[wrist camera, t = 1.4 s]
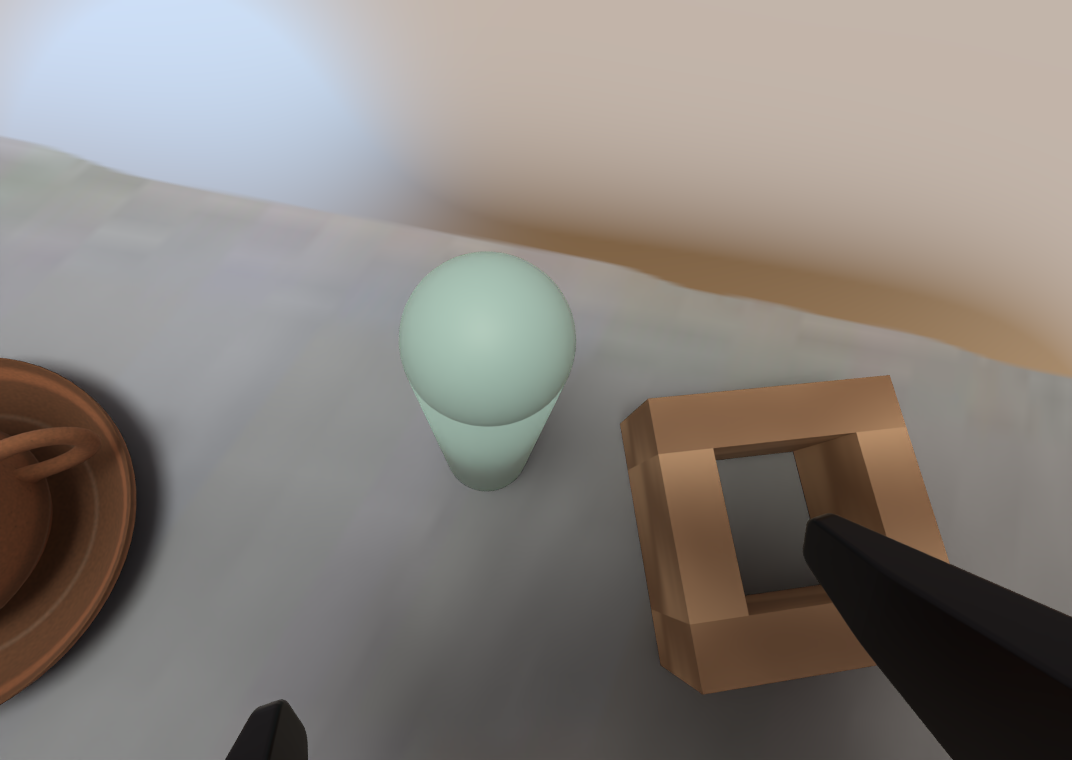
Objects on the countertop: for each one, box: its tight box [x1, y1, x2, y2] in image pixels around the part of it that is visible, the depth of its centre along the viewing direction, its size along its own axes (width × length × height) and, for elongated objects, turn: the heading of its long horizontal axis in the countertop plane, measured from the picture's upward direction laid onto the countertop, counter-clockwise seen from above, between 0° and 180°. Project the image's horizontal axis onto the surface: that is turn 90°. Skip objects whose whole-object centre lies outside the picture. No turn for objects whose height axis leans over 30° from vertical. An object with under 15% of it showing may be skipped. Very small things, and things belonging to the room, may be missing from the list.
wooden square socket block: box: [620, 375, 950, 694], centre depth 19 cm, size 9×9×4 cm
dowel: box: [399, 252, 576, 491], centre depth 15 cm, size 3×3×14 cm
